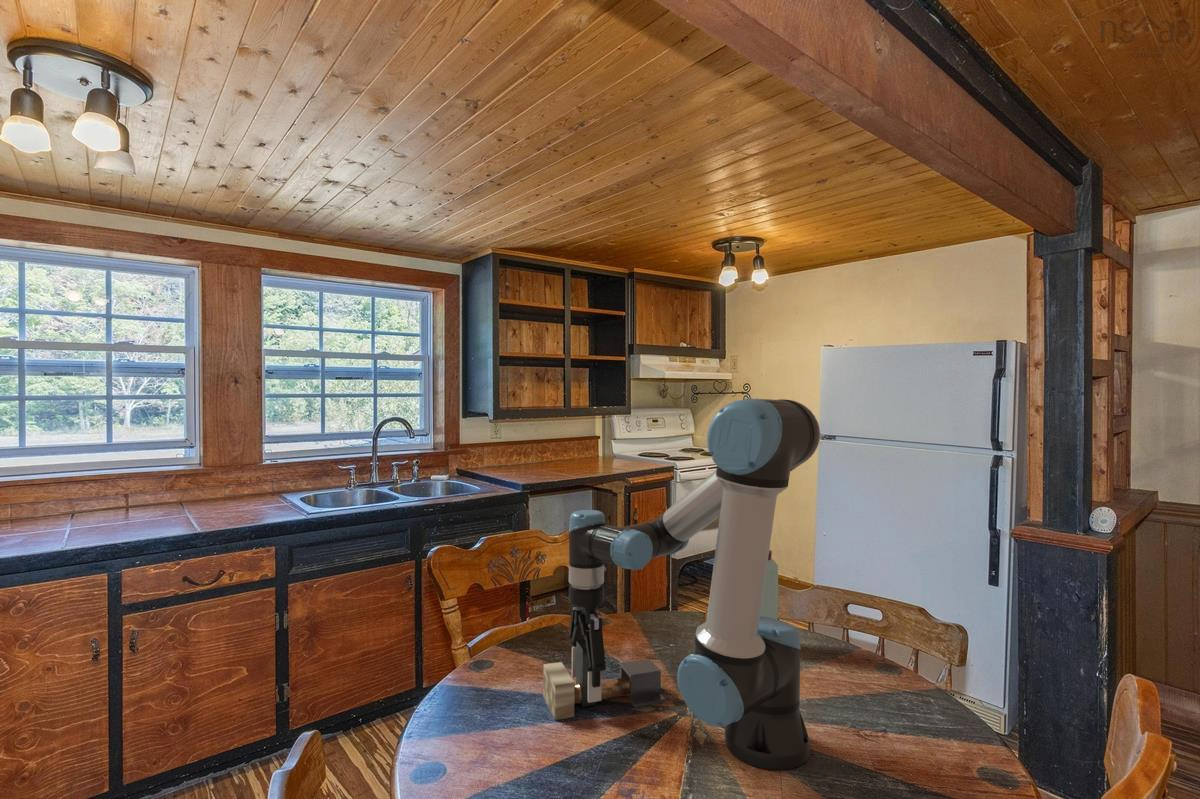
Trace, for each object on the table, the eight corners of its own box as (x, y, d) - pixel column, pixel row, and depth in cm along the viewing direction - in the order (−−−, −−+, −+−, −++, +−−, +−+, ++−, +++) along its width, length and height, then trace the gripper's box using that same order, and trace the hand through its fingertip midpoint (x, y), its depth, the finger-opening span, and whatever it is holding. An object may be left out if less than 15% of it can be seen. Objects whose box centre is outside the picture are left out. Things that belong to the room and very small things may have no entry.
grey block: (665, 702, 127) (665, 675, 127) (634, 707, 125) (635, 680, 125) (644, 679, 137) (645, 654, 138) (616, 684, 135) (616, 658, 135)
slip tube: (644, 696, 129) (644, 640, 129) (559, 710, 123) (559, 652, 123) (636, 687, 133) (636, 633, 133) (553, 700, 127) (553, 643, 127)
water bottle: (783, 654, 152) (783, 555, 152) (743, 653, 152) (744, 555, 152) (772, 638, 162) (773, 546, 162) (735, 638, 162) (736, 545, 162)
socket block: (574, 716, 121) (574, 682, 121) (555, 720, 120) (555, 685, 120) (561, 694, 130) (561, 661, 131) (543, 696, 129) (543, 664, 129)
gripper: (622, 599, 117) (622, 712, 117) (586, 568, 139) (586, 662, 139) (586, 603, 115) (585, 718, 115) (555, 571, 137) (554, 667, 137)
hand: (585, 688), depth 127 cm, fingers open, 11 cm apart
